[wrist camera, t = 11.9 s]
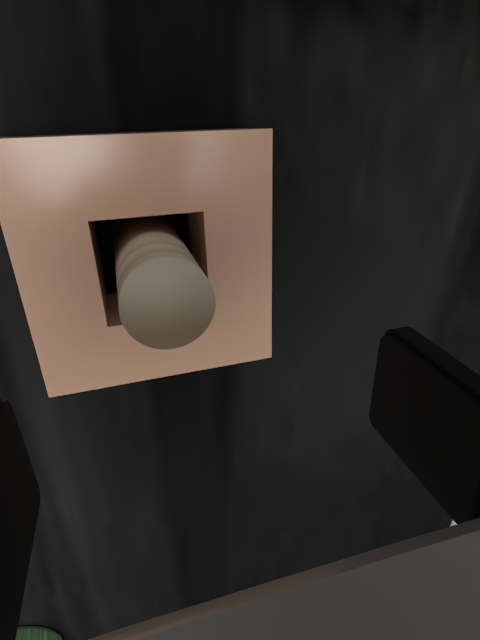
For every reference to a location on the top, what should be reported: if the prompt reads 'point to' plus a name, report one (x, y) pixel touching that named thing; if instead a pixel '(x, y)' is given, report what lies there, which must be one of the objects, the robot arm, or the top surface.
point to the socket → (127, 202)
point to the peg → (160, 285)
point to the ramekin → (36, 633)
